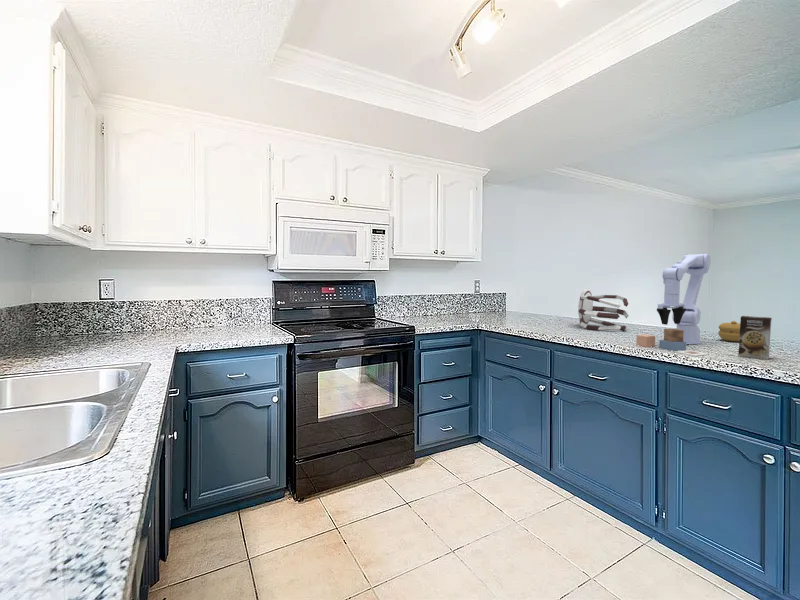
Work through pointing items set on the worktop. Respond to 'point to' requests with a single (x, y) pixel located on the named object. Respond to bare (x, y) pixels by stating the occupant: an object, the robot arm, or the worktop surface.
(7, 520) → the worktop surface
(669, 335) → the walnut block
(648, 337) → the peach block
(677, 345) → the blue block
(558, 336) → the worktop surface
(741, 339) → the coffee box
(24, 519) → the worktop surface
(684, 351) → the card
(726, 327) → the pot
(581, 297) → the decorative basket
